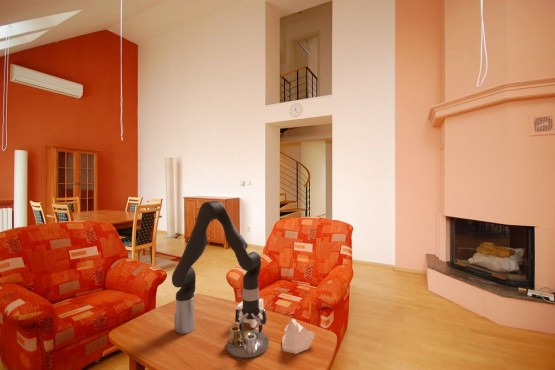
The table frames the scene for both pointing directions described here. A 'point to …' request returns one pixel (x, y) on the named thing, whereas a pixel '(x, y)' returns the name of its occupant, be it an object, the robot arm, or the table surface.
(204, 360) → the table surface
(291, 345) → the white faceted rock
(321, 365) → the table surface
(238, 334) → the seated gear
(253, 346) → the gear
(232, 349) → the carrier
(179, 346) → the table surface
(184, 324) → the robot arm
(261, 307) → the cable organizer
